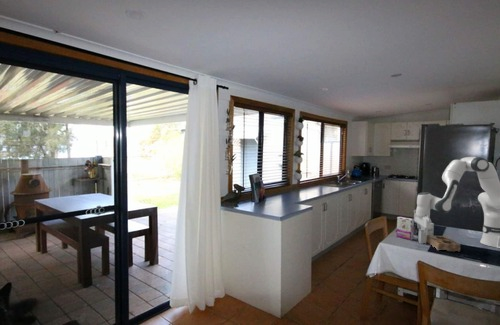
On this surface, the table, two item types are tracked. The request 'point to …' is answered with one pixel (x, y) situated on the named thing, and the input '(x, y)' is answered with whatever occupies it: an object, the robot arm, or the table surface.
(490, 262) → the table surface
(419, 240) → the plug
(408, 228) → the candy bar box
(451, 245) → the socket block
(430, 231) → the supplement box
